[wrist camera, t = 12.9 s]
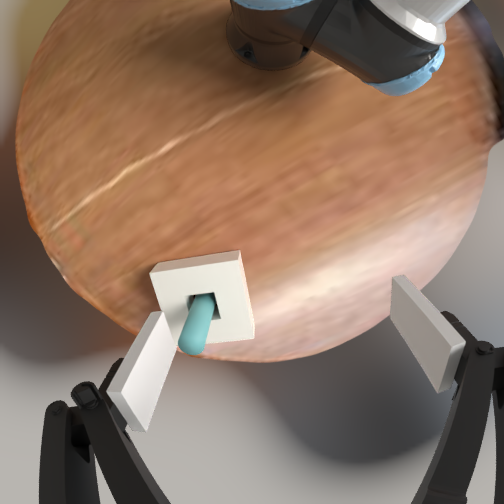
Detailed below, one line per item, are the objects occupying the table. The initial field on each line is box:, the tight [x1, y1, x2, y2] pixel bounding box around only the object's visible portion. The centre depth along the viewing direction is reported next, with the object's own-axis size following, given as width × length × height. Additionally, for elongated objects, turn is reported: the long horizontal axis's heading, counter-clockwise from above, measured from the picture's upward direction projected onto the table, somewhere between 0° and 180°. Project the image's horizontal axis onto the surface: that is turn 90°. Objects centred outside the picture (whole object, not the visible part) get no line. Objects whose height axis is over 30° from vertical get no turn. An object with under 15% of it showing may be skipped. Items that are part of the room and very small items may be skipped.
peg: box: [178, 292, 216, 355], centre depth 49 cm, size 4×4×16 cm
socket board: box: [149, 250, 255, 346], centre depth 54 cm, size 16×16×5 cm
